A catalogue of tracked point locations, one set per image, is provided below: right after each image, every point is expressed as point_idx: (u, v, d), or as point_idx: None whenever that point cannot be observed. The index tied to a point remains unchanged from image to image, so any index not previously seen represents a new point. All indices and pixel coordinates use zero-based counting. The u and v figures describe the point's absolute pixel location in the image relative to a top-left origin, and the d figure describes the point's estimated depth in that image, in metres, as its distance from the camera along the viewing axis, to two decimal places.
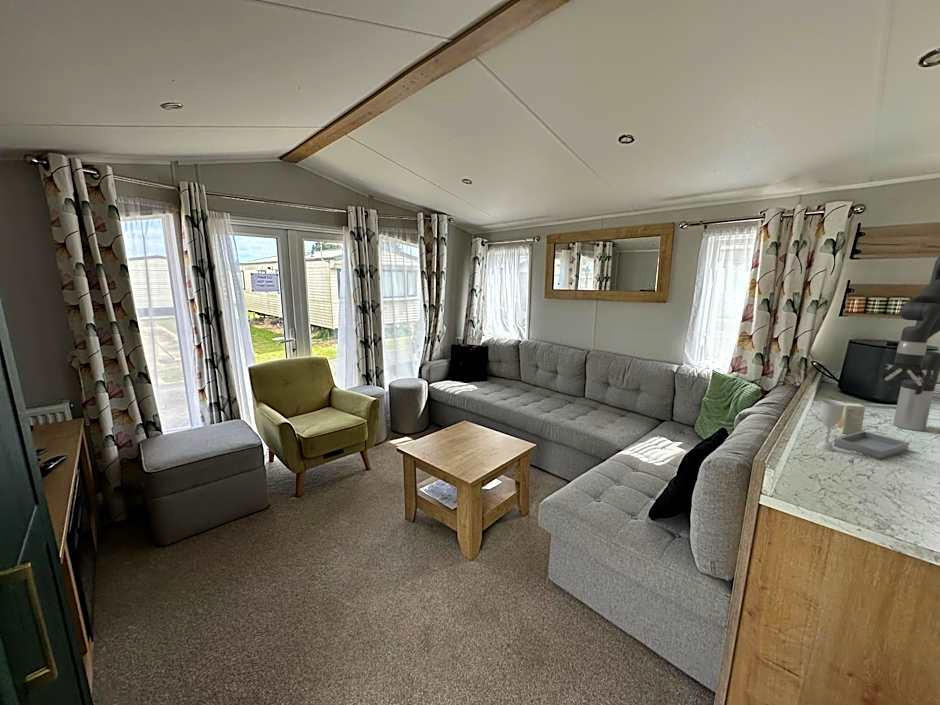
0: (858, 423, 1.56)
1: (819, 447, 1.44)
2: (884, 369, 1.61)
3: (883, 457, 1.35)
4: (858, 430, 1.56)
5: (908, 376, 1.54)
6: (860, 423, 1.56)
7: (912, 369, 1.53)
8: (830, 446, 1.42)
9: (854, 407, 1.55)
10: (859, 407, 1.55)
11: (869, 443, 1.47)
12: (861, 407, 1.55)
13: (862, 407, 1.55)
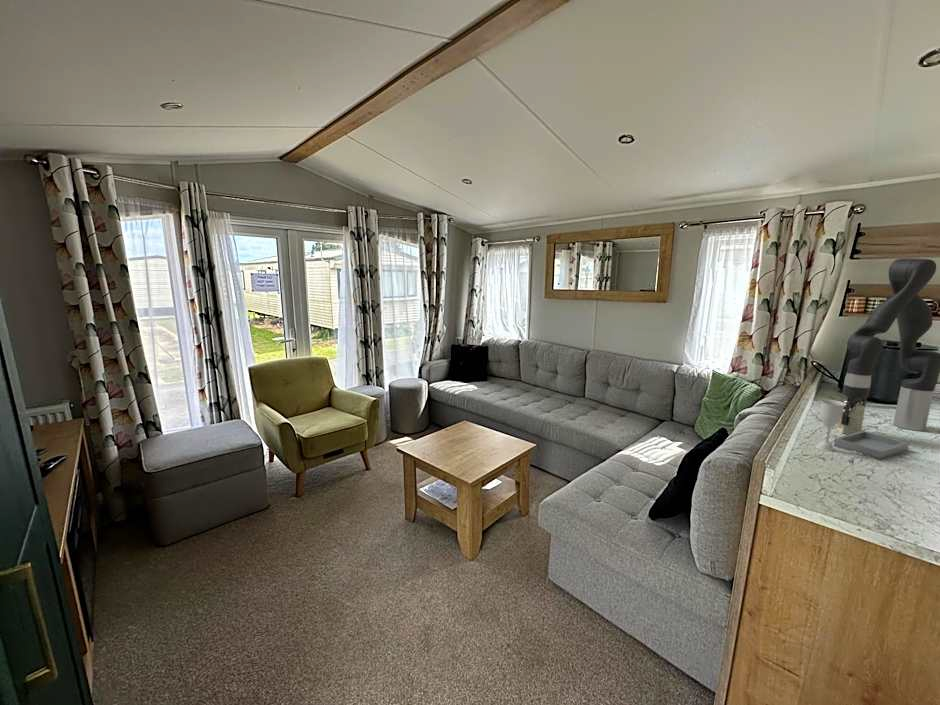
0: (858, 423, 1.56)
1: (819, 447, 1.44)
2: (849, 406, 1.54)
3: (883, 457, 1.35)
4: (858, 430, 1.56)
5: None
6: (860, 423, 1.56)
7: (860, 400, 1.56)
8: (830, 446, 1.42)
9: None
10: (859, 407, 1.55)
11: (869, 443, 1.47)
12: (861, 407, 1.55)
13: (862, 407, 1.55)
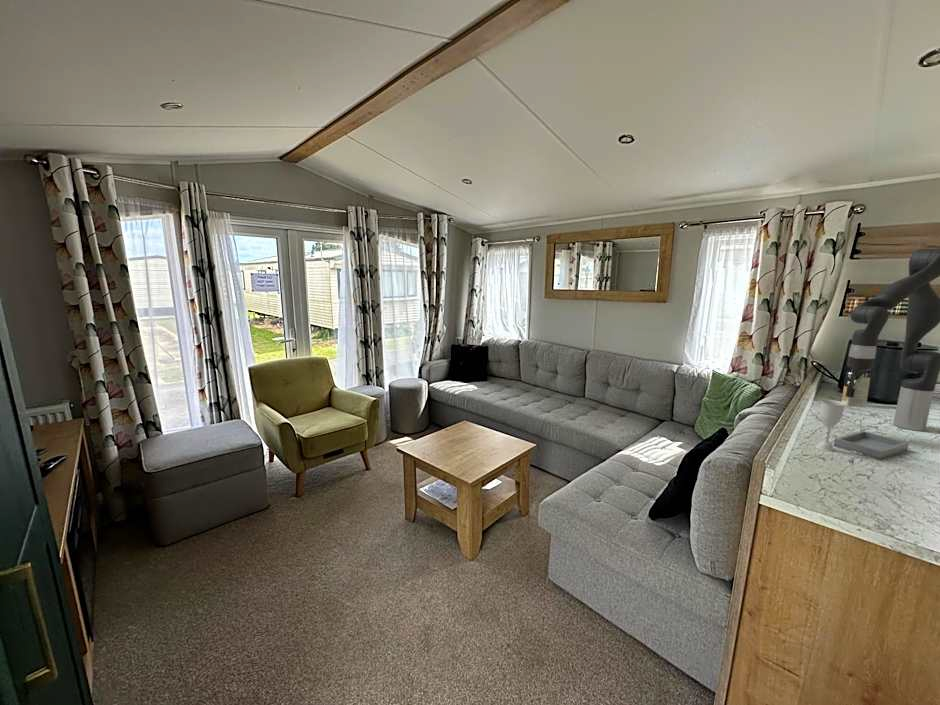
0: (863, 395, 1.54)
1: (819, 447, 1.44)
2: (853, 378, 1.52)
3: (883, 457, 1.35)
4: (863, 402, 1.54)
5: None
6: (865, 395, 1.54)
7: (865, 371, 1.54)
8: (830, 446, 1.42)
9: None
10: (864, 379, 1.53)
11: (869, 443, 1.47)
12: (866, 379, 1.53)
13: (867, 378, 1.53)
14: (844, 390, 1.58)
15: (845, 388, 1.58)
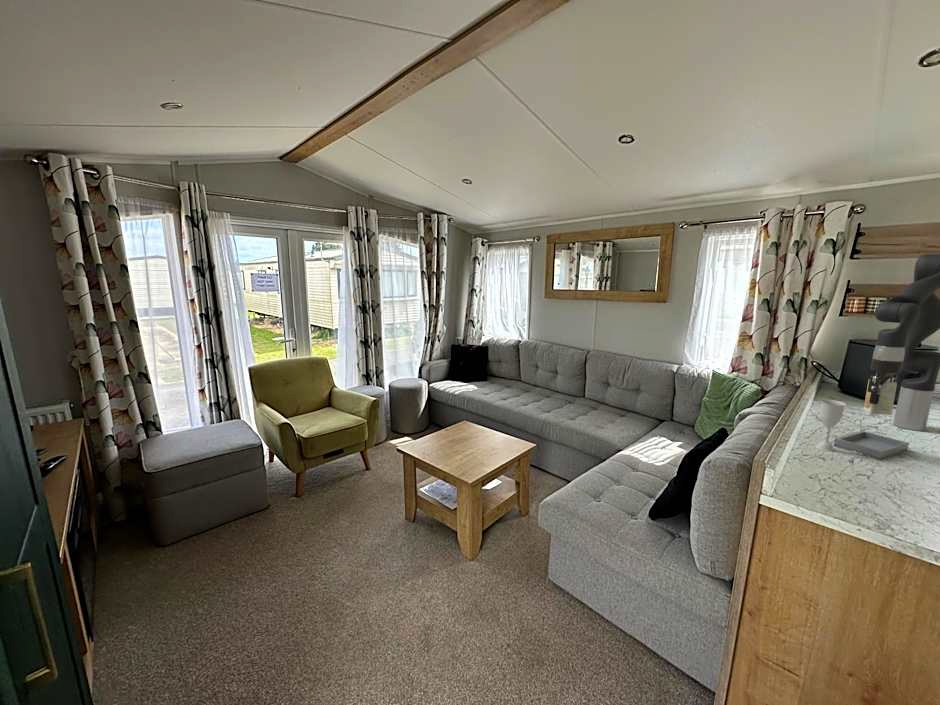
0: (888, 402, 1.39)
1: (819, 447, 1.44)
2: (879, 383, 1.36)
3: (883, 457, 1.35)
4: (889, 410, 1.39)
5: None
6: (891, 402, 1.38)
7: (891, 376, 1.39)
8: (830, 446, 1.42)
9: None
10: (890, 383, 1.38)
11: (869, 443, 1.47)
12: (892, 383, 1.37)
13: (893, 383, 1.37)
14: (867, 396, 1.43)
15: (868, 394, 1.42)
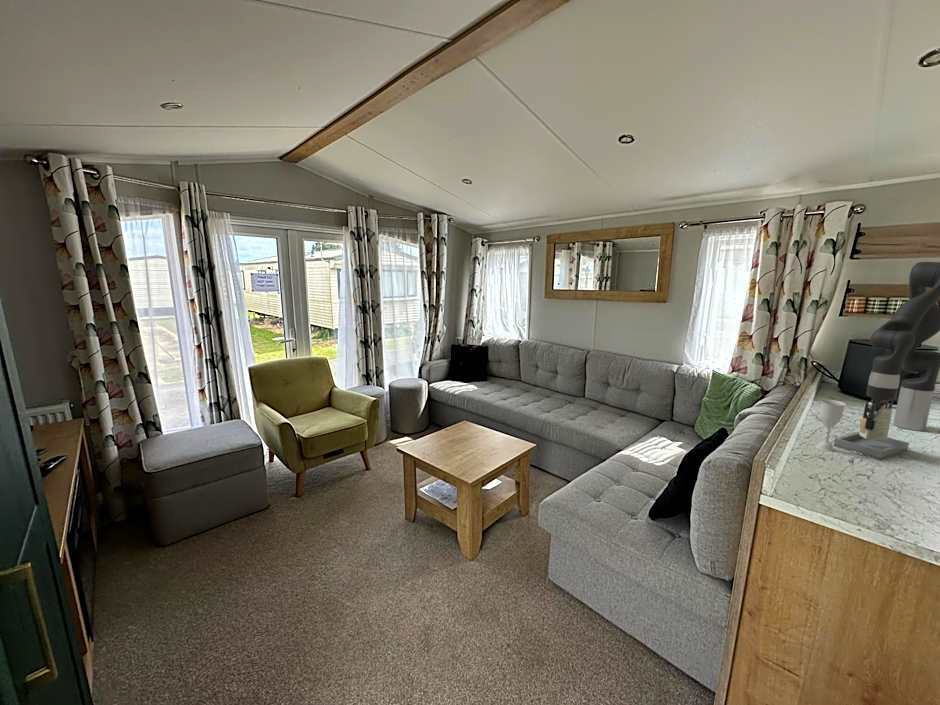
0: (884, 428, 1.40)
1: (819, 447, 1.44)
2: (874, 409, 1.38)
3: (883, 457, 1.35)
4: (884, 435, 1.41)
5: None
6: (886, 428, 1.40)
7: (886, 402, 1.41)
8: (830, 446, 1.42)
9: None
10: (885, 410, 1.39)
11: (869, 443, 1.47)
12: (888, 410, 1.39)
13: (889, 410, 1.39)
14: (862, 421, 1.44)
15: (864, 419, 1.44)
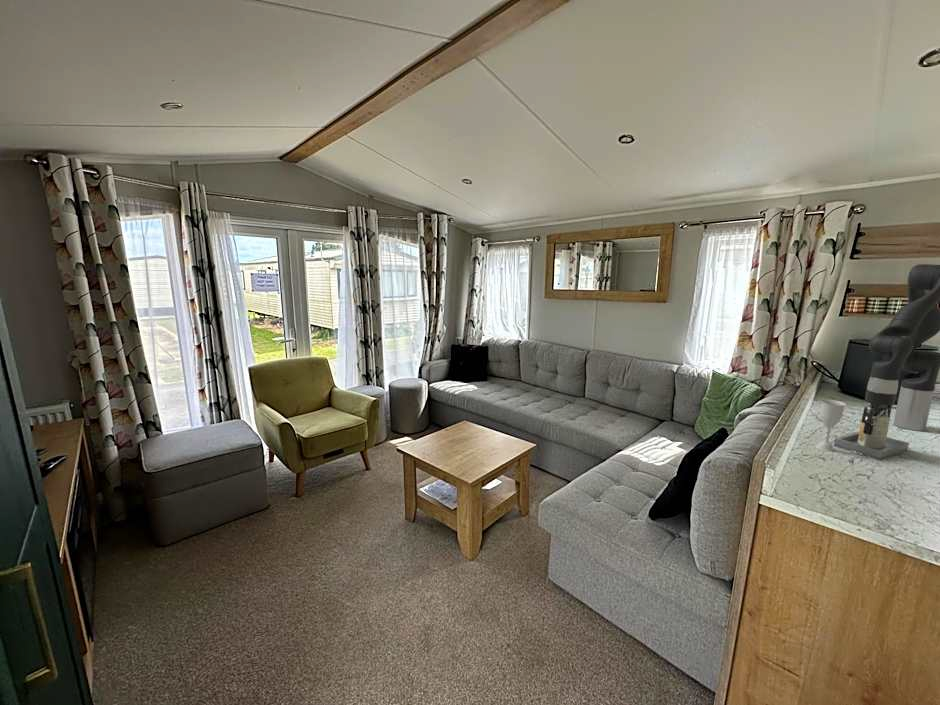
0: (882, 436, 1.41)
1: (819, 447, 1.44)
2: (873, 414, 1.38)
3: (883, 457, 1.35)
4: (882, 444, 1.41)
5: (882, 415, 1.41)
6: (884, 436, 1.41)
7: (884, 407, 1.41)
8: (830, 446, 1.42)
9: None
10: (883, 418, 1.40)
11: None
12: (885, 418, 1.40)
13: (886, 418, 1.39)
14: (860, 429, 1.45)
15: (862, 427, 1.44)
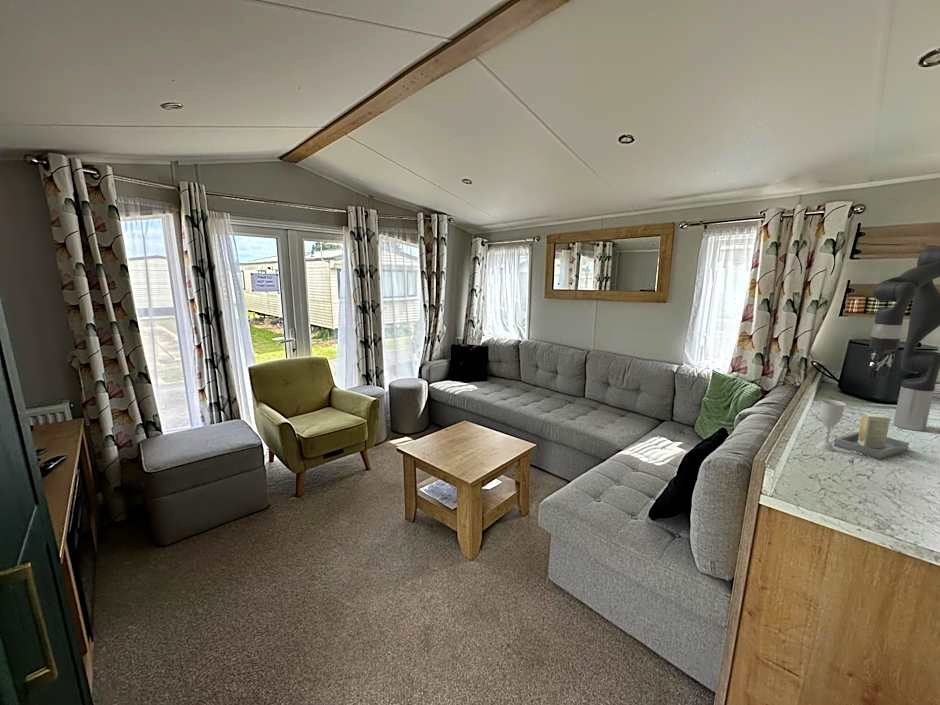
0: (882, 436, 1.41)
1: (819, 447, 1.44)
2: (877, 359, 1.42)
3: (883, 457, 1.35)
4: (882, 444, 1.41)
5: (886, 361, 1.45)
6: (884, 436, 1.41)
7: (889, 353, 1.44)
8: (830, 446, 1.42)
9: (877, 418, 1.40)
10: (883, 418, 1.40)
11: None
12: (885, 418, 1.40)
13: (886, 418, 1.39)
14: (860, 429, 1.45)
15: (862, 427, 1.44)
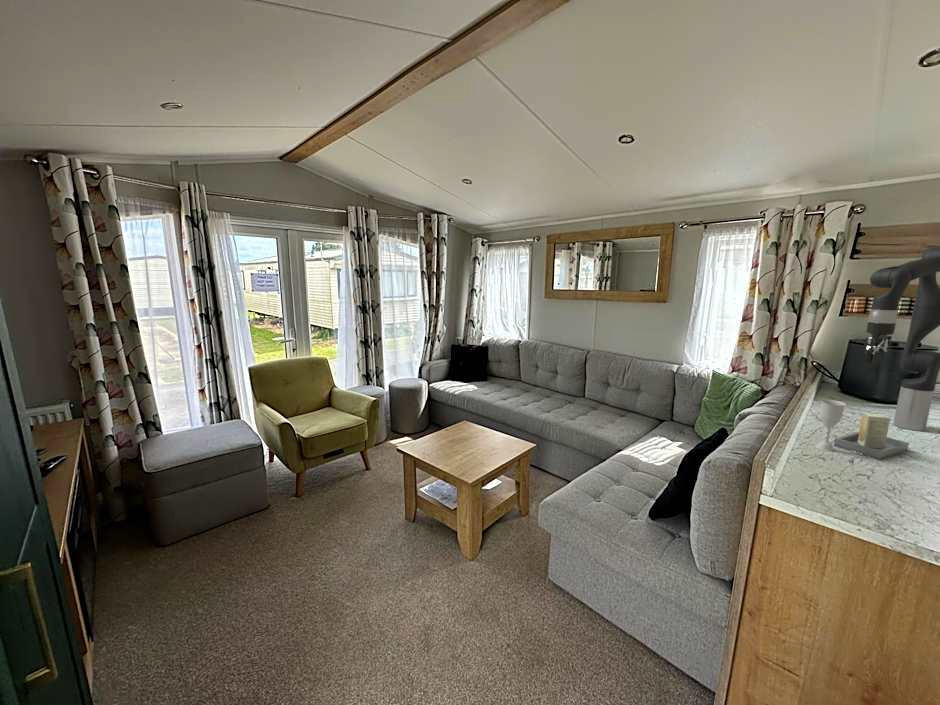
0: (882, 436, 1.41)
1: (819, 447, 1.44)
2: (874, 343, 1.47)
3: (883, 457, 1.35)
4: (882, 444, 1.41)
5: (882, 345, 1.50)
6: (884, 436, 1.41)
7: (885, 337, 1.50)
8: (830, 446, 1.42)
9: (877, 418, 1.40)
10: (883, 418, 1.40)
11: None
12: (885, 418, 1.40)
13: (886, 418, 1.39)
14: (860, 429, 1.45)
15: (862, 427, 1.44)
